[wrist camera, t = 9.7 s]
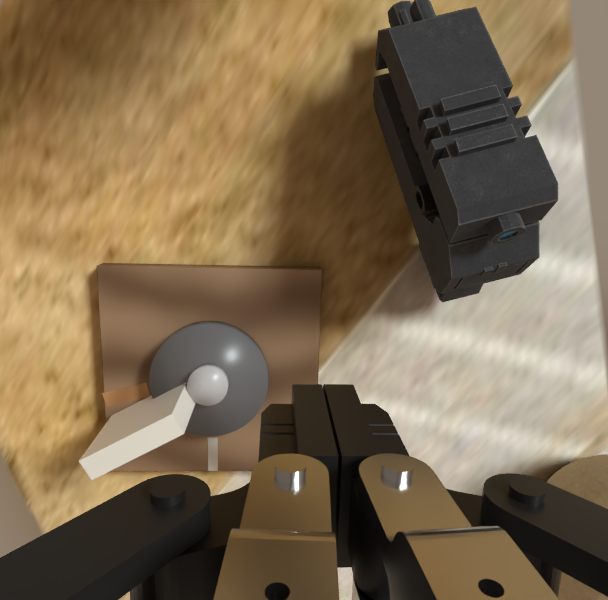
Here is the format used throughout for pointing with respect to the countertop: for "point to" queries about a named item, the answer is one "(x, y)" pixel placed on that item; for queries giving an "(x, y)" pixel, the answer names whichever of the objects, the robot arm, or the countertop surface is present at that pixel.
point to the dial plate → (206, 307)
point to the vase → (593, 487)
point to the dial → (186, 394)
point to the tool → (460, 148)
